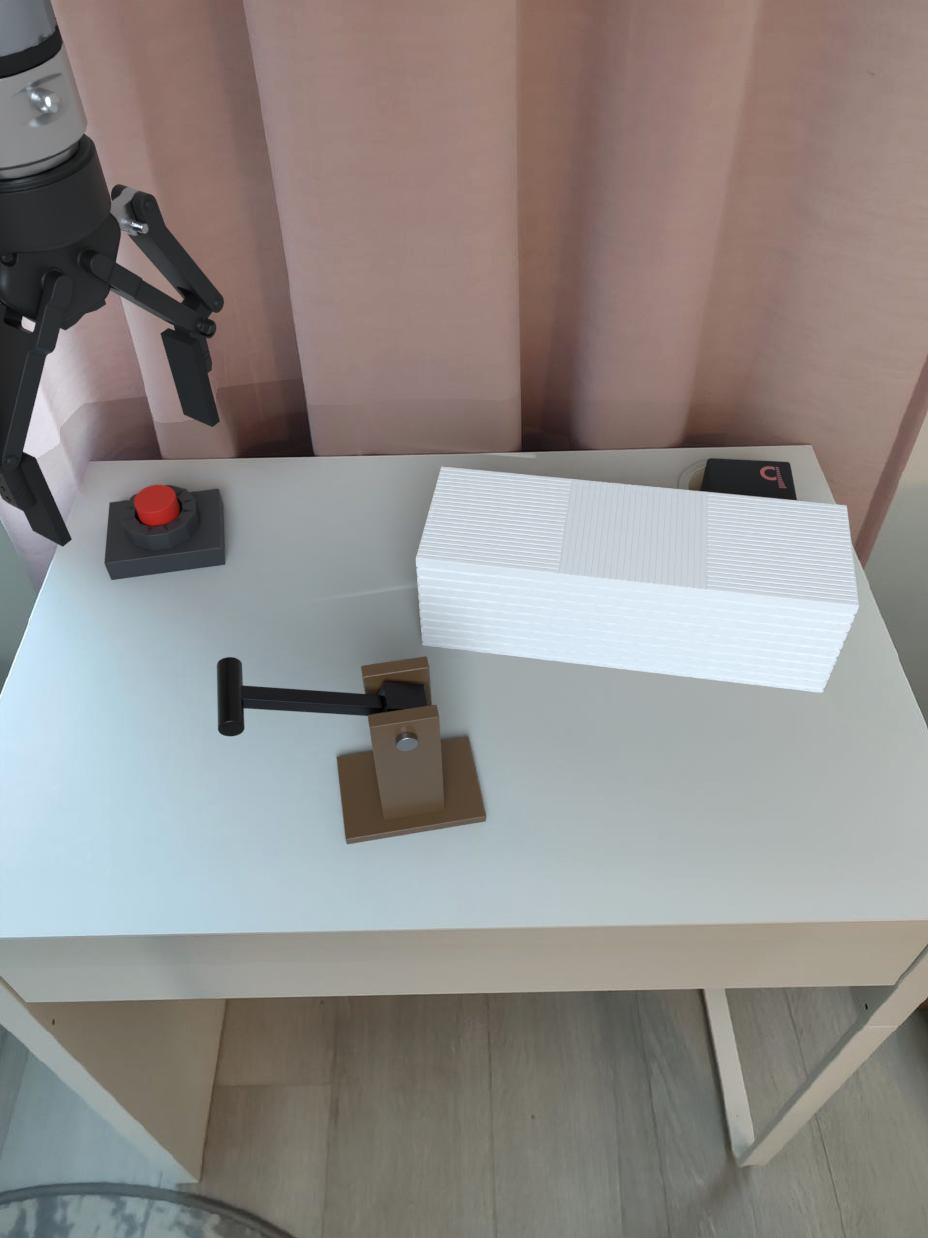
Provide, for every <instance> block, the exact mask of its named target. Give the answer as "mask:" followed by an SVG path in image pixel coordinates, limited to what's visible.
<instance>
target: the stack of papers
mask: <svg viewBox="0 0 928 1238" xmlns="http://www.w3.org/2000/svg"><path fill="white" fill-rule="evenodd" d="M429 505H430V506H429V509H428V512H427V516H426V520H425V523H424V528H423V531H422V534H421V538H420V541H419V545H418V548H417V553H416V556H415V567H416V569H415V570H416V576H417V577H416V579H417V580H416V581H417V593H418V609H419V618H420V619H419V622H420V633H421V645H422V646H425V647H435V648H443V649H451V650H459V651H460V650H461V651H468V652H477V653H486V654H492V655H499V656H500V655H503V656H509V657H519V658H527V659H535V660H543V661H549V662H550V661H551V662H560V663H567V664H568V663H569V664H578V665H585V666H592V667H593V666H594V667H602V668H610V669H618V670H627V671H634V672H643V673H644V672H645V673H651V674H661V675H669V676H676V677H677V676H678V677H686V678H693V679H695V678H696V679H702V680H710V681H711V680H712V681H717V682H718V681H719V682H727V683H735V684H744V685H753V686H761V687H769V688H779V689H785V690H786V689H787V690H794V691H802V692H811V693H819V694H823V693H824V691H825V689H826V687H827V684H828V681H829V679H830V677H831V673H832V672H833V670H834V666H835V665H836V663H837V661H838V658H839V655H840V653H841V650H842V648H843V646H844V644H845V641H846V639H847V637H848V633H849V632H850V630H851V628H852V624H853V623H854V621H855V618H856V615H857V613H858V611H859V608H860V602H859V593H858V586H857V577H856V570H855V562H854V552H853V545H852V536H851V528H850V527H851V526H850V520H849V519H850V518H849V513H848V512H849V511H848V505H847V504H839V503H827V502H817V501H807V500H798V499H797V500H787V499H776V498H766V497H756V496H745V495H735V494H724V493H714V492H704V491H700V490H691V489H682V488H681V489H680V488H672V487H662V486H661V487H660V486H651V485H640V484H631V483H629V484H628V483H619V482H610V481H609V482H608V481H600V480H599V481H598V480H589V479H588V480H587V479H580V478H579V479H577V478H569V477H568V478H567V477H556V476H548V475H547V476H546V475H535V474H526V473H515V472H507V471H506V472H504V471H494V470H484V469H476V468H475V469H473V468H462V467H452V466H444V465H443V466H440V470H439V472H438V476H437V480H436V484H435V488H434V491H433V495H432V498H431V502H430V504H429Z"/></svg>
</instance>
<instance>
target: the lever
mask: <svg viewBox="0 0 928 1238" xmlns="http://www.w3.org/2000/svg"><path fill="white" fill-rule="evenodd" d="M243 677H244V676H243V663H242V661H241V660H240V659H239V658H237V657H234V656H226V657H223V658H221V659H219V660H218V661H217V663H216V705H217V707H216V708H217V709H216V710H217V732H218V733H219V734H220V735H222V736H225V737H236V736H240V735H241V734H243V733H244V731H245V709H248V710H262V711H263V710H264V711H277V712H278V711H280V712H281V711H282V712H298V713H314V714H328V715H329V714H330V715H347V716H359V717H360V716H361V717H368V715H371V714H377V713H384V712H390V711H397V710H403V709H410V708H416V707H423V706H428V704H427V699H426V693H425V688H424V685H423V684H411V683H397V682H383V684H382V686H381V689H380V691H379V693H378V695H374V694H365V693H360V692H359V693H358V692H357V693H356V692H344V691H328V690H315V689H300V688H286V687H285V688H284V687H273V686H272V687H271V686H270V687H269V686H258V685H257V686H256V685H244V678H243Z"/></svg>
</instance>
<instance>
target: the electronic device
mask: <svg viewBox="0 0 928 1238" xmlns="http://www.w3.org/2000/svg"><path fill="white" fill-rule="evenodd" d="M699 491H704V492H714V493H724V494H735V495H745V496H756V497H766V498H776V499H787V500H797V501H798V498H797V492H796V487H795V482H794V477H793V471H792V465H791V462H789V461H777V460H760V459H759V460H758V459H757V460H755V459H736V458H734V459H733V458H718V457H717V458H715V457H714V458H713V457H710V458H708V459H706V463H705V467H704V472H703V477H702V481H701V486H700V490H699Z"/></svg>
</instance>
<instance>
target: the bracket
mask: <svg viewBox="0 0 928 1238" xmlns="http://www.w3.org/2000/svg"><path fill="white" fill-rule="evenodd" d="M360 670H361V677H362V684H363V691H364V694H374V695H378V693H379V691H380V689H381V686H382V684H383V682H397V683H411V684H423V685H424V688H425V693H426V699H427V704H428V706H423V707H416V708H410V709H403V710H397V711H390V712H384V713H377V714H371V715H368V716H367V721H368V727H369V734H370V741H371V747H372V751H366V752H359V753H353V754H345V755H340V756H336V764H337V765H336V766H337V774H338V782H339V793H340V801H341V810H342V811H341V812H342V819H343V829H344V837H345V843H346V845H352V844H358V843H365V842H370V841H371V842H372V841H377V840H382V839H389V838H394V837H401V836H407V835H412V834H418V833H425V832H431V831H435V830H442V829H448V828H449V829H450V828H454V827H460V826H461V827H462V826H467V825H472V824H473V825H474V824H477V823H484V822H486V821H487V815H486V810H485V806H484V801H483V795H482V792H481V786H480V782H479V777H478V773H477V768H476V764H475V760H474V754H473V750H472V745H471V741H470V737H469V736H468V735H467V736H460V737H455V738H448V739H441V738H442V737H441V724H440V723H441V722H440V714H439V708H438V705H437V704H433V700H432V685H431V669H430V663H429V658H428V656H425V655H424V656H418V657H413V658H406V659H399V660H392V661H385V662H379V663H371V664H366V665H365V664H364V665H361V666H360Z"/></svg>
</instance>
